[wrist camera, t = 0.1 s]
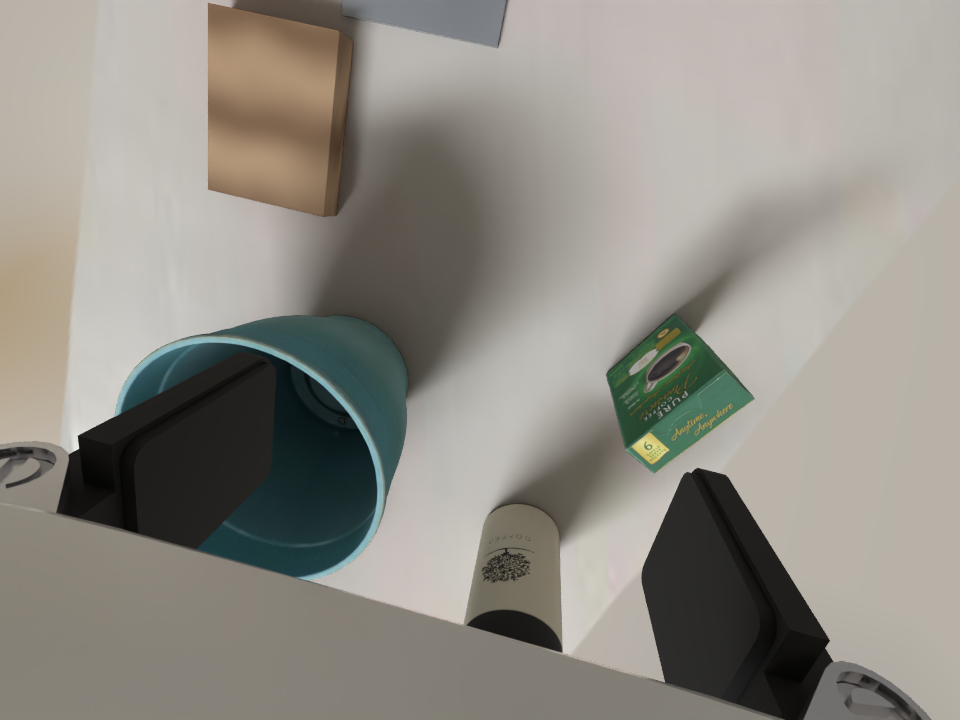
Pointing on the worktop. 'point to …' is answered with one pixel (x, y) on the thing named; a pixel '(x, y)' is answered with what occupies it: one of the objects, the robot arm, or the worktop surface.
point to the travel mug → (518, 578)
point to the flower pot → (304, 436)
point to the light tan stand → (276, 109)
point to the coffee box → (672, 394)
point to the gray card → (435, 17)
